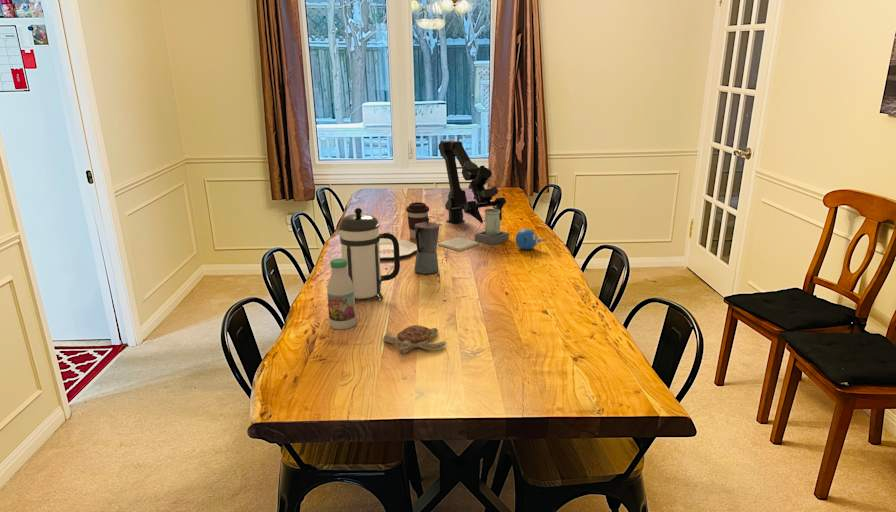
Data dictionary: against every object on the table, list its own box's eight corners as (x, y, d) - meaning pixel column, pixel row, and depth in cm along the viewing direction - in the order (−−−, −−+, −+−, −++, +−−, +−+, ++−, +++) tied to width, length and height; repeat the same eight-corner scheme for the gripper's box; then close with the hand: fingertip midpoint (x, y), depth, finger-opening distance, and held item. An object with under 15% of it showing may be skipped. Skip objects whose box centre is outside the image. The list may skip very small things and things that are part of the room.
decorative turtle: (370, 352, 155) (369, 335, 154) (397, 326, 170) (397, 311, 168) (433, 363, 149) (433, 346, 147) (456, 336, 164) (455, 320, 162)
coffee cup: (430, 234, 260) (430, 201, 255) (428, 240, 251) (427, 206, 246) (409, 233, 261) (408, 201, 256) (405, 240, 252) (404, 206, 247)
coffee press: (369, 310, 181) (363, 216, 171) (330, 299, 189) (323, 210, 179) (402, 292, 195) (398, 204, 185) (365, 283, 203) (360, 199, 193)
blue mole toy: (544, 254, 231) (544, 234, 229) (514, 252, 233) (514, 232, 231) (545, 245, 242) (546, 226, 240) (516, 244, 245) (517, 224, 242)
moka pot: (445, 266, 219) (445, 214, 213) (431, 279, 205) (430, 225, 199) (422, 263, 222) (421, 212, 216) (406, 276, 208) (404, 223, 202)
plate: (427, 247, 242) (427, 242, 242) (398, 265, 221) (398, 260, 220) (376, 240, 252) (376, 236, 252) (343, 257, 231) (343, 252, 230)
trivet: (438, 245, 244) (438, 243, 244) (457, 239, 252) (457, 236, 252) (459, 251, 236) (459, 248, 236) (478, 244, 245) (478, 242, 244)
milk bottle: (331, 319, 174) (326, 256, 168) (357, 318, 175) (353, 255, 168) (328, 331, 167) (323, 265, 160) (355, 329, 167) (351, 264, 161)
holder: (474, 240, 251) (474, 233, 250) (490, 235, 258) (490, 228, 257) (493, 244, 244) (493, 238, 243) (508, 239, 251) (508, 232, 250)
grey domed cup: (481, 238, 252) (481, 209, 248) (494, 236, 255) (495, 208, 251) (491, 244, 245) (492, 214, 241) (505, 242, 248) (505, 212, 243)
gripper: (466, 182, 244) (479, 213, 238) (504, 178, 252) (517, 208, 246) (458, 197, 253) (470, 228, 247) (495, 193, 261) (507, 222, 255)
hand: (491, 221), depth 249 cm, fingers open, 9 cm apart
